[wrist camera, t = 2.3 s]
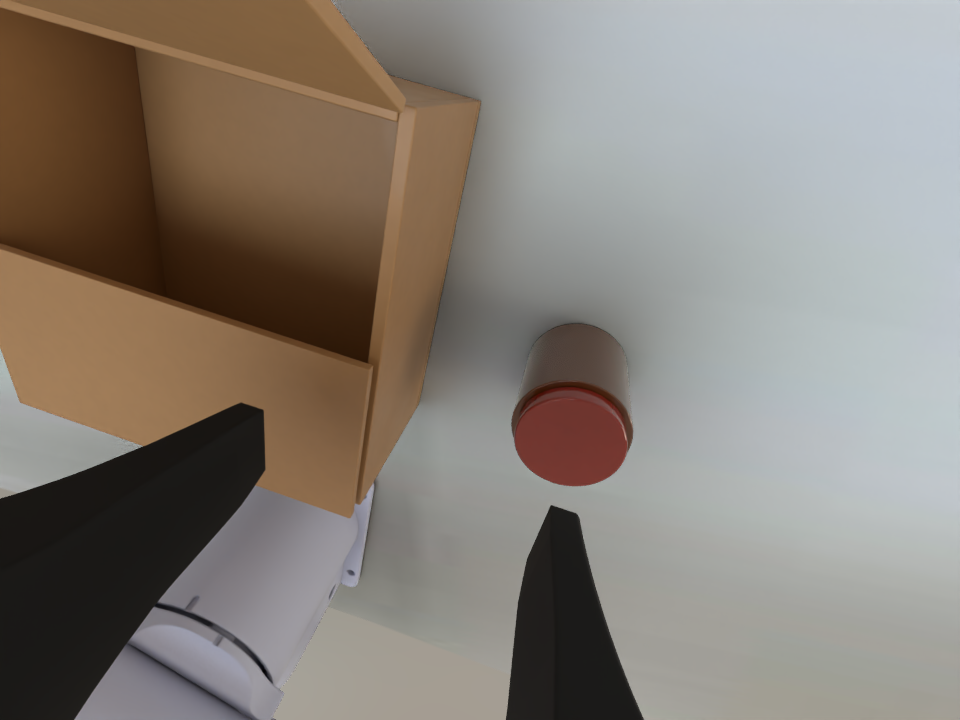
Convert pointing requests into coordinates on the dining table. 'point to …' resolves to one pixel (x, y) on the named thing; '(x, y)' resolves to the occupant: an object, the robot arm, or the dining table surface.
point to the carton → (220, 247)
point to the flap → (251, 39)
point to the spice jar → (574, 407)
